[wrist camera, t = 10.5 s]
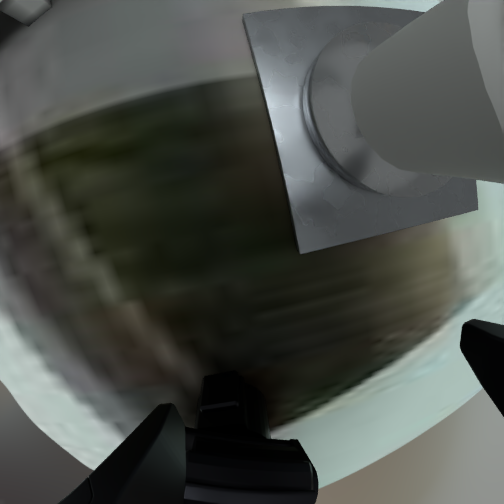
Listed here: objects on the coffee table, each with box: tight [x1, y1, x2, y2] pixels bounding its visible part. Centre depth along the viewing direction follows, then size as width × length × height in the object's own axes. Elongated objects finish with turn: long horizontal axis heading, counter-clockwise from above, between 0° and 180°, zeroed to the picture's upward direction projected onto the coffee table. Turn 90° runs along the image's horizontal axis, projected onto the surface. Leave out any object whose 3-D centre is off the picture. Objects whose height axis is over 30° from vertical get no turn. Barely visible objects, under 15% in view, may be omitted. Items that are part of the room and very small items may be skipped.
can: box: [351, 0, 504, 184], centre depth 9 cm, size 8×8×12 cm
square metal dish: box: [242, 6, 478, 254], centre depth 17 cm, size 16×15×4 cm
